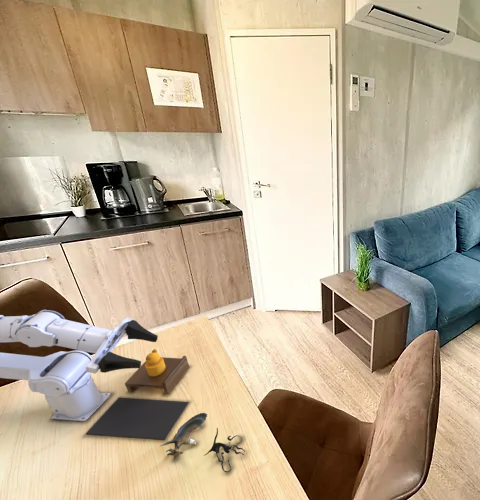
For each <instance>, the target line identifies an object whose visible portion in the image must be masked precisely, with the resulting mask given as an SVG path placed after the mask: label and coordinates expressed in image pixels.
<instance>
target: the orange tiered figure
mask: <svg viewBox="0 0 480 500" xmlns="http://www.w3.org/2000/svg"><path fill="white" fill-rule="evenodd" d="M162 357H163V356H161V355H160V353H159V352H158V350H157V349H153V350H152V351H151V352H150V353H148V354H147V355H146V356H145V361H146V364H145V367H146V369H147V372H148V375H149V376H157V375H160V374H161V373H163V372H164V371H165V369H166V366H165V363H164V360H163V358H162Z"/></svg>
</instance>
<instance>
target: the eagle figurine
mask: <svg viewBox="0 0 480 500" xmlns="http://www.w3.org/2000/svg"><path fill="white" fill-rule="evenodd" d="M207 417H208V413H206V412H200V413H197V414H195V415H194V416H192V417H191V418H189V419H188V420H187V421H185V422H184V423H183V424H182V425H181V426H180V427H179V428H178V429H177V432H176V433H175V434H174V435H173V437H172V438H171V439H169V440H167V441H165V442H163V443H160V444H159V446H160V447H162V446H169V445H171V444H174V449H173V448H171V447H170V448H169V449H166V450H165V453H166V456H173V459H174V460H176V459H177V458H178V457H179V455H182V454H184V451H183V450H180V449H181V446H186V445H194V446H196V445H197V443H196V441H195V439H193V438H190V436H191V435H192V433H193V432H195V431H196V430H198V429H200V428H202V427H203V423H204V422H206V420H207ZM168 452H169V453H168Z"/></svg>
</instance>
